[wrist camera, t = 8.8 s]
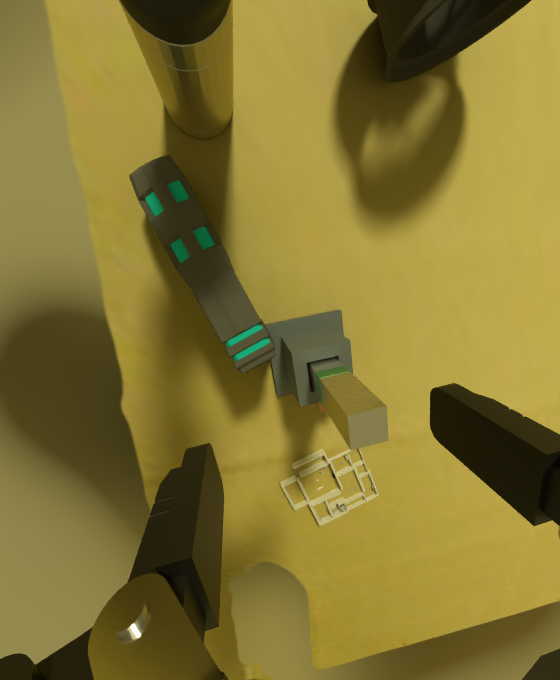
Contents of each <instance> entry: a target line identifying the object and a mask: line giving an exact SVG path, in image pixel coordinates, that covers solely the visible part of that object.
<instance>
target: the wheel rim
mask: <svg viewBox="0 0 560 680" xmlns="http://www.w3.org/2000/svg"><path fill="white" fill-rule="evenodd" d="M367 1H368V5H369V8H370V9H371V10H372V12H374V13H376V14H377V15H378V20H379V24H380V29H381V33H382V38H383V42H384V47H385V51H386V56H387V62H386V67H385V78H386V80H388V81H389V82H398V81H403V80H406V79H409V78H412V77H414V76H417V75H419V74H421V73H423V72H425V71H427V70H429V69H431V68H433V67H435V66H437V65H439V64H441V63H443V62H444V61H446V60H448V59H449V58H451V57H453V56H454V55H456V54H458V53H459V52H461V51H463V50H464V49H466V48H467V47H469V46H470V45H472V44H473V43H475V42H476V41H478V40H479V39H481V38H482V37H484V36H485V35H486V34H488V33H489V32H491V31H492V30H494V29H495V28H496V27H498V26H499V25H500V24H502V23H503V22H504V21H506V20H507V19H509V18H510V17H511V16H512V15H514V14H515V13H516V12H518V11H519V10H520V9H521V8H523V7H524V6H525V5H526V4H528V3H529V2H530V1H531V0H367Z"/></svg>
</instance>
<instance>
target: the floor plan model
mask: <svg viewBox="0 0 560 680" xmlns="http://www.w3.org/2000/svg"><path fill="white" fill-rule="evenodd" d="M354 450H355V449H354ZM358 450H359V452H360V449H359V448H358ZM351 451H353V450H350V449H348V450H346V451H344V452H342V453H340V454H338V455H336V456H334V457H332V458H330V459H328V458H327V456H326V454H325V452H324V450H323V449H321V450H319V451H317V452H315V453H313V454H310V455H308V456H306V457H304V458H302V459H300V460H298V461H296V462H294V463H292V467H293V470H294V469H296V468H298V467H300V466H302V465H304V464H306V463H308V462H310V461H313V460H317V459H318V458H322V456H323V455H324V456H325V458H326V459H325V460H323V461H321V462H319V463H317V464H314V465H312V466H310V467H308V468H306V469H304V470H302V471H300V472H299V475H300V478H302V477H304V476H306V475H308V474H310V473H312V472H315V471H317V470H321V468H322V469H323V467H324V468H325V466H327V465H328V464H329V463H330V465H331V468H332V470H333V472H334V474H335V476H334V474H333V477H334V478H335V477H336V479H337V481H338V483H339V485H340V488H341V490H343V487H342V485H341V482H340V480H339V478H338V477H339V476H341V475H343V474H345V473H347V472H349V471H352V470H354V471H355V474H356V476H357V479H358V481H359V484H360V486H361V488H362V491H363V492H366V491H365V488H364V486H363V483H362V481H361V478H362V477H364V476H366V475H368V477H369V480H370V481H372V484H371V485H372V486H371V487H372V489H373V491H374V490H375V491H376V493H375V494H373V495H371V496H369V497H367V498H366V497H365V495H364V493H362V492H359V493H357V494H355V495H353V496H351V497H349V498H347V499H345V500H344V498H343V497H341V498H340V499H337V500H335V501H333V502H331V503H329V502H328V499H331V498H333V497H335V496H337V495H339V494H341V491H340V489H339V488H337V489H333V491H331V492H329V493H327V494H325V495H323V496H321V497H319V498H316V499H314V500H312V501H310V499H309V497H308V495H307V493H306V491H305V489H304V487H303V485H302V483H301V481H300V479H299V477H298V476H297V477H295V475H294V476H292V477H290V478H288V479H286V480H284V481H281V482H280V484H281V487H282V489H283V490H284V492H285V494H286V496H287V498H288V499H289V501H290V503H291V505H292V507H293V509H294V510H297V509H299V508H301V507H303V506H305V505H307V504H309V506H310V508H311V510H312V512H313V514H314V516H315V518H316V520H317V522H318V524H319V525H320V526H322V525H323V524H326V523H328V522H330V521H332V520H334V519H336V518H338V517H340V516H342V515H344V514H346V513H348V512H349V510H351V509H353V508H355V507H357V506H359V505H361V504H363V503H365V502H367V501H369V500H371V499H373V498H375V497H377V496H379V494H378V491H377V489H376V486H375V483H374V481H373V478H372V475H371V473H370V471H369V469H368V470H367V467H366V464H365V462H364V459H363V457H362V454H361V452H360V455H361V457H362V460H360V461H358V462H356V463H354V464H352V461H351V459H350V456H349V454H348V453H349V452H351ZM343 455H344V456H345V458H346V460H348V461H349V463H351V465H350V466H348V467H346V468H344V469H342V470H340V471H337V472H336V471H335V469H334V467H333V464H332V462H331V461H332V460H334V459H337V458H339V457H341V456H343ZM347 456H348V457H347ZM348 458H349V459H348ZM341 464H343V462H341ZM362 464H364V465H365V467H366V470H367V471H366V472H364V473H361V474H360V473H359V474H358V472H357V469H356V467H358V466H360V465H362ZM325 471H326V472H327V470H326V468H325ZM320 474H321V472H320ZM322 474H323V472H322ZM295 481H297V482H298V484H299V486H300V488H301V490H302V492H303V494H304V495H305V497H306V500H304V501H301V502H299V503H297V504H295V505H294V503H293V501H292V499H291V497H290V496H289V494H288V492H287V490H286V488H285V486H287V485H289V484H291V483H293V482H295ZM317 481H319V479H317ZM321 488H323V486H322V487H320V488H318V489H317V490H320V489H321ZM352 489H354V487H353V486H352V488H350V490H351V491H352ZM361 496H363V497H364V499H363V500H361V501H359V502H357V503H355V504H353V505H350V506H348V507H347V506H346V504H347V503H349V502H351V501H353V500H355V499H357V498H359V497H361ZM324 501H325V502H326V504H327V507H328V509H329V511H330V515H327V516H323V517H322V518H321V519H319V517H318V514H317V513H316V511H315V509H314V507H313V506H315V505H317V504H320V503H322V502H324ZM336 504H338V505H337V506H338V508H339V510H338V511H335V510H333V511H334V513H333V512H332V509H334V508H336ZM342 504H343V505H342ZM344 504H345V505H344ZM340 505H342V506H340Z"/></svg>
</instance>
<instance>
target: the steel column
mask: <svg viewBox="0 0 560 680" xmlns="http://www.w3.org/2000/svg"><path fill="white" fill-rule="evenodd" d="M307 369H308V376H309V383H310V385H311V387H312V389H313V390H314V392H315V393H316V395H317V397H318V399H319V401H320V402H321V404H322V406H324V408H325V410H326V411H327V413H328V414H329V416H330V418H331V419H332V421H333V422H334V424H335V426H336V427H337V429H338V431H339V432H340V434H341V435H342V437H343V439H344V440H345V442H346V443H347V445H348V447H349V448H350V450H354V449H358V448H362V447H366V446H369V445H373V444H377V443H381V442H385V441H388V422H387V406H386V405H385V404H384V403H383V402H382V401H381V400H380V399H379V398H378V397H377V396H375V395H374V394H373V393H372V392H371V391H370V390H369V389H368V388H367V387H366V386H365V385H364V384H363V383H362V382H361V381H360V380H358V379H357V378H356V377H355V376H354V375H353V374H352V373H351V372H350V370H349V369H348V368H346V367H345V366H344V365H343V364H341V363H340V362H339V361H338V360H337V359H336V358H335V357H330V358H326V359H321V360H317V361H312V362H308V363H307Z"/></svg>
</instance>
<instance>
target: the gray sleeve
mask: <svg viewBox="0 0 560 680" xmlns="http://www.w3.org/2000/svg"><path fill="white" fill-rule="evenodd" d="M265 326H266V328H267V330H268V332H269V334H270V336H271V338H272V340H273V342H274V344H275V351H276V354H277V355H276V356H275V357H273V358H272V359H271V364H272V369H273V374H274V380H275V385H276V390H277V395H278V397H279V396H283V395H287V394H292V393H294V394H295V396H296V399H297V401H298V403H299V405H300V407H301V406H305V405H309V404H313V403H317V408H318V410H319V412H320V413H323V412H327V411H326V410H325V408H324V406H322V404H321V402H320V401H319V399H318V397H317V395H316V393H315V392H314V390H313V389H312V387H311V385H310V383H309V376H308V369H307V363H308V362H312V361H317V360H321V359H326V358H330V357H335V358H336V359H337V360H338V361H339V362H340V363H341V364H343V365H344V366H345V367H346V368H348V369H349V370H350V372H351V373H352V374H353V368H352V357H351V345H350V340H349V339H347V338H346V337H344V334H343V323H342V313H341V310H334V311H329V312H324V313H320V314H315V315H310V316H305V317H300V318H295V319H290V320H285V321H280V322H275V323H270V324H265Z"/></svg>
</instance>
